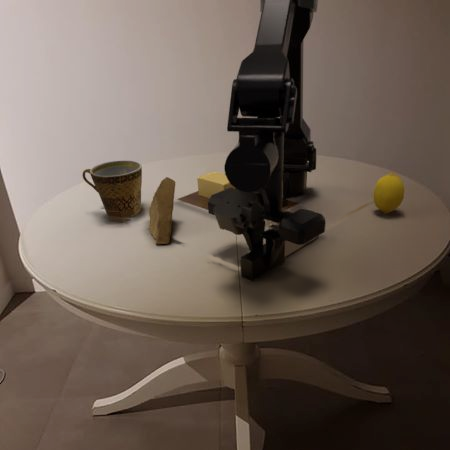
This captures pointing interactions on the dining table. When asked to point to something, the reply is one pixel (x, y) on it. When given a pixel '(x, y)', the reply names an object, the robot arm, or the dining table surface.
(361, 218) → the dining table surface
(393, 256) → the dining table surface
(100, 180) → the ceramic cup
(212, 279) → the dining table surface
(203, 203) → the butter board
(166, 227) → the rock
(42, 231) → the dining table surface
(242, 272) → the knife
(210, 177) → the butter stick
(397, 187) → the lemon
